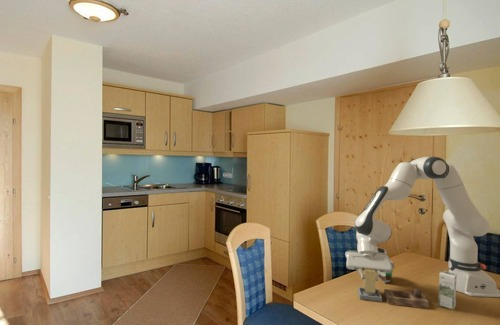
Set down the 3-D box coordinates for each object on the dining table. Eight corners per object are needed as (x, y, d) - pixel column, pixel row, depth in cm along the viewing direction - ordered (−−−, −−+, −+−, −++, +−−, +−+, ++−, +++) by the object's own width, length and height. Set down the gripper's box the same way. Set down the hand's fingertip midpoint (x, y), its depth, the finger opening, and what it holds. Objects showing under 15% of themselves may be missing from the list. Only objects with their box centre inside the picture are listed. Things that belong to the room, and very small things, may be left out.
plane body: (422, 299, 132) (422, 286, 132) (428, 308, 125) (428, 295, 124) (384, 295, 136) (384, 282, 136) (388, 303, 128) (388, 290, 128)
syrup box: (456, 305, 127) (457, 273, 127) (453, 310, 123) (454, 277, 123) (440, 301, 131) (441, 269, 131) (438, 305, 127) (438, 273, 127)
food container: (398, 285, 147) (398, 265, 147) (386, 284, 147) (386, 265, 147) (387, 275, 159) (387, 257, 159) (376, 274, 160) (376, 256, 159)
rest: (378, 293, 138) (378, 289, 138) (381, 302, 130) (381, 297, 130) (357, 291, 140) (357, 287, 140) (360, 299, 132) (360, 295, 132)
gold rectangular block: (373, 290, 136) (374, 269, 136) (375, 293, 133) (375, 272, 132) (363, 289, 137) (364, 268, 137) (364, 292, 134) (365, 271, 133)
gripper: (345, 246, 144) (346, 274, 134) (390, 250, 139) (394, 279, 129) (344, 252, 148) (345, 279, 139) (387, 256, 143) (392, 284, 134)
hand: (369, 279), depth 134 cm, fingers closed on gold rectangular block, 4 cm apart
